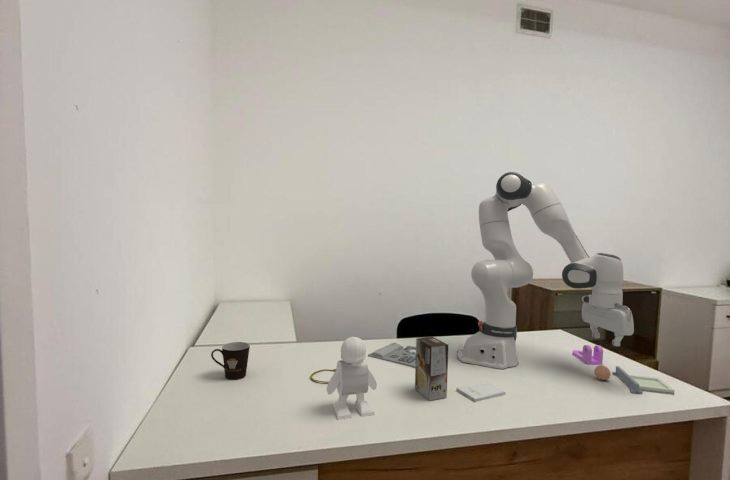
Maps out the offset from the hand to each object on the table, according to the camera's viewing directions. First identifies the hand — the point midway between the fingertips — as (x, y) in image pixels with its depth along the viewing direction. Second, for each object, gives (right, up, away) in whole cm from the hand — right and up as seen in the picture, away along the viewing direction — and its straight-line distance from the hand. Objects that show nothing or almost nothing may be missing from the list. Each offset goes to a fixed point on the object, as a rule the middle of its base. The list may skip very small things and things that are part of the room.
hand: (605, 341), depth 130 cm
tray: (+12, -14, -3) cm, 19 cm away
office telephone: (-66, -11, +19) cm, 70 cm away
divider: (+6, -14, -2) cm, 15 cm away
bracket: (+6, -13, +22) cm, 26 cm away
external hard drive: (-46, -13, -12) cm, 50 cm away
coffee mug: (-126, -10, -5) cm, 126 cm away
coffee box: (-62, -12, -14) cm, 65 cm away
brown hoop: (-93, -12, -3) cm, 93 cm away
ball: (-1, -13, +1) cm, 13 cm away
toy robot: (-86, -12, -25) cm, 90 cm away
